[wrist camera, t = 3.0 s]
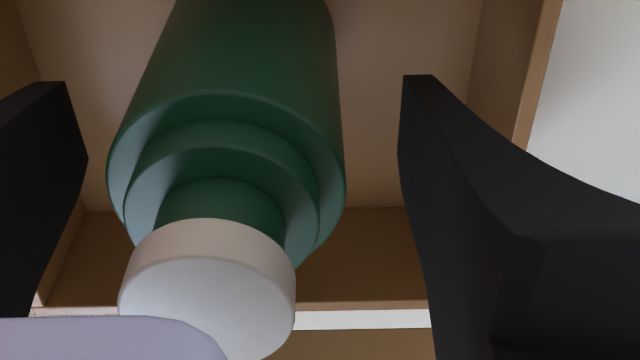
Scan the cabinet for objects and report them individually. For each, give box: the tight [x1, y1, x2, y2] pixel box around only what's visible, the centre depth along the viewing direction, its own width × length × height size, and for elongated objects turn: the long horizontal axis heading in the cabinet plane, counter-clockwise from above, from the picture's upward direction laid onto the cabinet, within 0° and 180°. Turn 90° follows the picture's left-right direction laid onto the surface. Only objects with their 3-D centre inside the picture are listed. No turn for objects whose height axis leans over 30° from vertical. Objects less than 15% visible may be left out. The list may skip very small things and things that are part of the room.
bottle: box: [105, 0, 347, 360], centre depth 12 cm, size 4×4×9 cm
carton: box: [0, 0, 563, 316], centre depth 15 cm, size 13×11×4 cm
